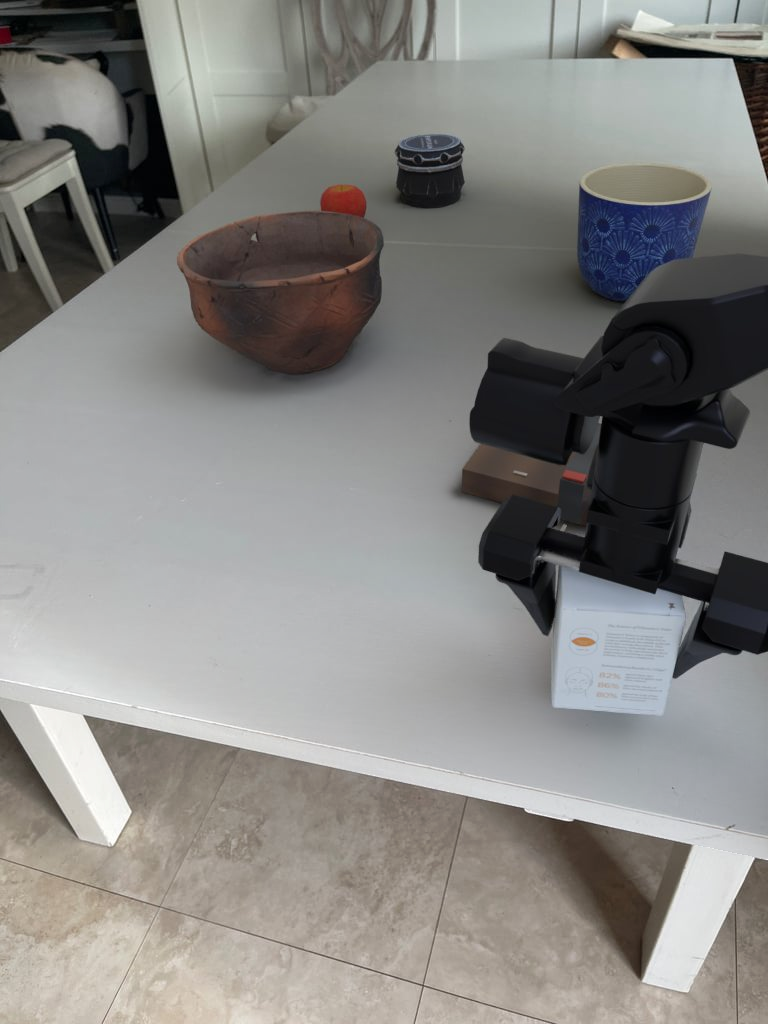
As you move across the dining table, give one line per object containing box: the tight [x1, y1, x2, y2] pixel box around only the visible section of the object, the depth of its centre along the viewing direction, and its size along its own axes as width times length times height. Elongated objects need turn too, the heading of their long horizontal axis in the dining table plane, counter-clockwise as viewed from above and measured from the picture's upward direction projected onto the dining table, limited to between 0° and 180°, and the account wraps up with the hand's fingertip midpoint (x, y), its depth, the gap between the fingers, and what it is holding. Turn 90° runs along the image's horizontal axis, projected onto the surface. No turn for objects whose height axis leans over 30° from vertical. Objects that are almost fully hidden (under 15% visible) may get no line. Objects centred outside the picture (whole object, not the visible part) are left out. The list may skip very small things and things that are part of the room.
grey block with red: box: [557, 422, 601, 525], centre depth 75 cm, size 10×2×5 cm, turn 152°
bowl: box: [176, 210, 385, 375], centre depth 102 cm, size 25×25×15 cm
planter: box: [576, 162, 713, 303], centre depth 112 cm, size 17×17×15 cm
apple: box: [319, 184, 367, 218], centre depth 138 cm, size 8×8×8 cm
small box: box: [550, 565, 687, 717], centre depth 57 cm, size 8×6×10 cm
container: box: [394, 133, 466, 209], centre depth 148 cm, size 13×13×10 cm
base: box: [461, 443, 590, 532], centre depth 80 cm, size 19×19×3 cm
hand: (609, 651), depth 58 cm, fingers closed on small box, 9 cm apart
